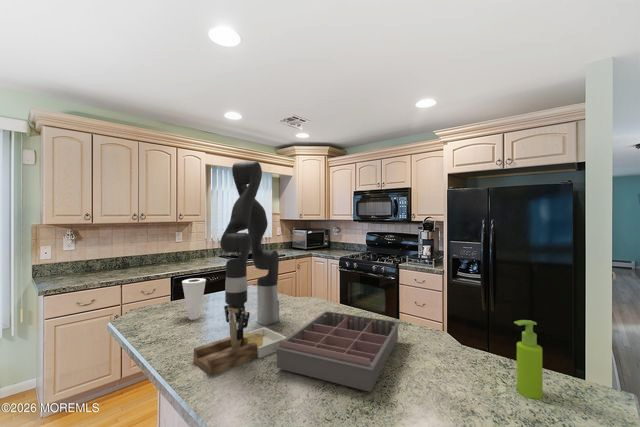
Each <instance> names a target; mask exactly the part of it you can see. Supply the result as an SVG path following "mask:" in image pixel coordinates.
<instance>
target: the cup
mask: <svg viewBox="0 0 640 427" xmlns="http://www.w3.org/2000/svg"><path fill="white" fill-rule="evenodd" d="M206 281H207V279H206V278H203V277H202V278H200V277H199V278H198V277H197V278H196V277H195V278H187V279H184V280H182V281H181V284H182V289H183V290H182V291H183V293H184V294H183V295H184V300H185V301H184V302H185V304H186V305H185V306H186V311H187V317H188V320H189V319H190V321H194V320H198V319H200V316H201V313H202V312H201V311H202V304H203V298H204V294H205V293H204V292H205V287H206Z"/></svg>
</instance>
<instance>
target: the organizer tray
mask: <svg viewBox="0 0 640 427" xmlns="http://www.w3.org/2000/svg"><path fill="white" fill-rule="evenodd" d="M400 324H401V322H400V321H395V320H389V319H388V320H387V319H381V318H374V317H369V316H368V317H367V316H361V315H357V314H356V315H355V314H348V313H343V312H342V313H341V312H335V311H330V310H329V311H328V310H325V311H324V312H322V313H320V314H319V315H318V316H316V317H315V318H313V319H312V320H311V321H309V322H307V323H306V324H305V325H304V326H302V327H301V328H299V330H297V331H295V332H294V333H292V334H291V335H290V336H288V337H287V339H285V340H284V341H282V340H280V344H278V345H277V346H276V347H274V349H277V351H276V369H280V370H284V371H288V372H293V373H295V374H300V375H304V376H308V377H311V378H315V379H318V380H323V381H327V382H331V383H335V384H339V385H343V386H346V387H350V388H355V389H358V390H362V391H366V392H370V393H371V392H372V390H373V389H374V386H375V384H376V383H377V381H378V380H379V377H380V375H381V373H382V371H383V369H384V368H385V365H386V364H387V362H388V360H389V357H390V355H391V353H392V352H393V350H394V348H395V345H396V343H397V342H398V340H399V326H400Z"/></svg>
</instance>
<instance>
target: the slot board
mask: <svg viewBox="0 0 640 427" xmlns="http://www.w3.org/2000/svg"><path fill="white" fill-rule="evenodd" d="M254 359H258V351H257V344H256V343H254V342H253V343H250V344H247V345H244V346H242V347H239V348H236V349H233V350H232V346H231V336H229V337H226V338H222V339H220V340H215V341H213V342H210V343H206V344H203V345H200V346H197V347H193V361H192V362H193V363H195V365H197V366H198V367H199V368H201V369H202V370H203V371H204V372H206V374H208V375H209V376H210V377H211V376H215V375H217V374H220V373H222V372H224V371H226V370H229V369H232V368H234V367H237V366H239V365H243V364H244V363H247V362H249V361H251V360H254Z"/></svg>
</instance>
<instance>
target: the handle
mask: <svg viewBox="0 0 640 427" xmlns="http://www.w3.org/2000/svg"><path fill="white" fill-rule="evenodd" d="M244 307H245V308H246V306H245V305H244ZM227 309H228V312H231V336H230V337H231V346H232V350H233V349H236V348H239V347H241V342H242V339H241V340H237V327H236V323H235V322H234V315H233V313H234V312H235V313H238V309H237V308H235V307H232V306H230V305H229V306H227ZM239 319H241V318H239ZM239 319H237V320H239ZM239 325H240V322H239Z"/></svg>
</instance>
